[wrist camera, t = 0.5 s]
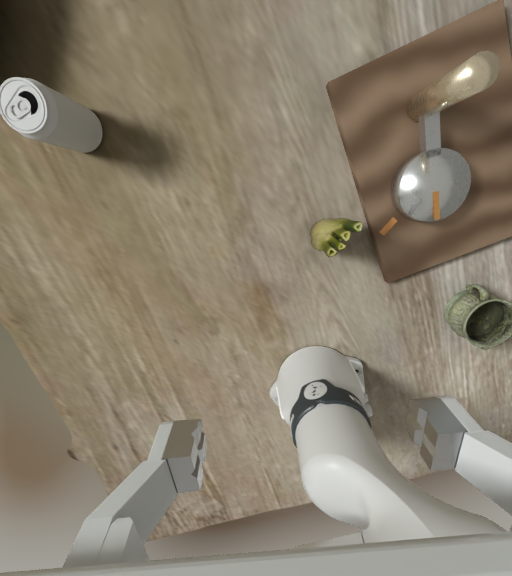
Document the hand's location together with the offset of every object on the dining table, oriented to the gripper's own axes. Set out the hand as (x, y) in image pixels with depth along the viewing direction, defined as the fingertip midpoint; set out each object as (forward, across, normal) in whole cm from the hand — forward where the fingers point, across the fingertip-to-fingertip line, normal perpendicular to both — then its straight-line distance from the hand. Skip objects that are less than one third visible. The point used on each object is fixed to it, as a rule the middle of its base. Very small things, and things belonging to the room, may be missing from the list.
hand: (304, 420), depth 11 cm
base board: (+40, +27, +8) cm, 49 cm away
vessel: (+37, +35, -18) cm, 54 cm away
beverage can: (+42, -26, +17) cm, 52 cm away
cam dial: (+38, +25, +8) cm, 46 cm away
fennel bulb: (+39, +10, -2) cm, 41 cm away
